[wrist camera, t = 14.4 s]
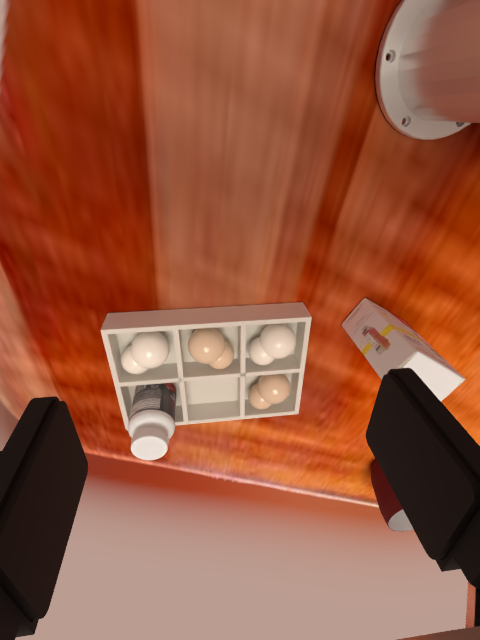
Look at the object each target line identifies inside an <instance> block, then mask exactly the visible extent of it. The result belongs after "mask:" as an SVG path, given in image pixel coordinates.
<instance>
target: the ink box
mask: <svg viewBox="0 0 480 640" xmlns="http://www.w3.org/2000/svg"><path fill="white" fill-rule="evenodd" d="M341 326H342V327H343V328H344V330H345V331H346V332H347V334H348V335H349V336H350V338H351V339H352V340H353V342H354V343H355V344H356V346H357V347H358V348H359V350H360V351H361V352H362V353H363V355H364V356H365V358H366V359H367V360H368V362H369V363H370V364H371V366H372V367H373V368H374V370H375V371H376V373H377V374H378V375H379V377H380V378H381V379H382V378H383V376H384V375H385V374H387V373H388V371H389V370H390V369H398V368H411V369H412V370H414V371H415V373H416V374H417V375H418V376H419V377H420V378H421V379H422V381H423V382H424V383H425V384H426V385H427V386H428V388H429V389H430V390H431V391H432V392H433V393H434V394H435V396H436V397H437V398H438V399H439V400H440V401H442V400H443V399H444V398H446V397H447V396H448V395H449V394H450V393H451V392H452V391H453V390H455V389H456V388H457V387H458V386H459V385H460V384H461V383H462V382H464V381H465V379H464V378H463V376H461V375H460V374H459V373H458V372H457V371H456V370H455V369H454V368H453V367H452V366H451V365H450V364H449V363H448V362H447V361H446V360H445V359H444V358H443V357H442V356H441V355H439V354H438V353H437V352H436V351H435V350H434V349H433V348H432V347H431V346H430V345H429V344H428V343H427V342H426V341H425V340H424V339H423V338H422V337H421V336H420V335H419V334H418V333H417V332H416V331H415V330H414V329H412V328H411V327H410V326H409V325H408V324H407V322H405V321H403V320H402V319H400V318H398V317H397V316H395V315H394V314H392V313H390V312H389V311H387V310H385V309H383V308H382V307H380V306H378V305H377V304H375V303H373V302H372V301H370V300H368V299H367V298H364V299H363V300H362V301H361V302H360V303H359V304H358V305H357V306H356V308H355V309H354V310H353V311H352V312H351V313H350V315H349V316H348V317H347V318H346V320H345V321H344V322H343V323H342V325H341Z"/></svg>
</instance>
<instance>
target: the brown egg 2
mask: <svg viewBox="0 0 480 640" xmlns="http://www.w3.org/2000/svg"><path fill="white" fill-rule="evenodd" d="M289 393H290V382H289V380H288V378H287V377H286V376H285V375H284V374H272V375H262V376H261V377H260V378H259V380H258V383H256V384H254V385H253V386H252V387H251V388H250V390H249V393H248V399H249V402H250V404H251V405H252V406H253V407H254V408H256V409H260V410H263V409H267V408H269V407H270V406H271V405H272V404H278V403H281V402H283V401H284V400H285V399H286V398H287V397H288V395H289Z"/></svg>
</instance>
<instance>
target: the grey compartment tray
mask: <svg viewBox="0 0 480 640" xmlns="http://www.w3.org/2000/svg"><path fill="white" fill-rule="evenodd" d="M311 318H312V317H311V315H310V313H309V312H308V310H307V308H306V307H305V305H304V303H303V302H296V303H279V304H261V305H243V306H226V307H208V308H191V309H173V310H155V311H138V312H120V313H107V316H106V318H105V321H104V323H103V325H102V328H101V334H102V338H103V342H104V346H105V350H106V353H107V357H108V361H109V365H110V369H111V373H112V377H113V381H114V385H115V389H116V393H117V397H118V401H119V405H120V409H121V412H122V416H123V420H124V424H125V428H126V430H128V422H129V417H130V413H131V408H132V403H133V398H134V393H135V389H136V385H147V384H160V383H172V382H174V383H175V385H176V389H177V395H176V413H175V414H176V415H175V425H185V424H196V423H207V422H217V421H228V420H239V419H249V418H260V417H270V416H281V415H292V414H298V413H299V406H300V398H301V391H302V384H303V376H304V369H305V362H306V354H307V347H308V340H309V333H310V325H311ZM279 323H284V324H286V325H288V326H289V327H290V328H291V329H292V330H293V331H294V333H295V336H296V345H295V348H294V350H293V351H292V353H291V354H290V355H288V356H287V357H285V358H281V359H275V360H274V361H273V362H272V363H270V364H268V365H258V364H256V363H254V362H253V361H252V360H251V358H250V356H249V352H248V349H249V345H250V343H251V342H252V341H253V340H254V339H255V338H257V337H260V335H261V332H262V331H263V329H264V328H265V327H266V326H268V325H269V324H279ZM200 328H215V329H216V330H218V331H219V332H220V333H221V334H222V336H223V338H224V341H226V342H228V343H229V344H230V345H231V346H232V348H233V350H234V359H233V361H232V363H231V364H230V365H229V366H228V367H227V368H224V369H215V368H213V367H211V366H210V365H209V364H203V363H199V362H197V361H196V360H194V359H193V358H192V357H191V355H190V353H189V351H188V340H189V338H190V336H191V334H192V333H193V332H194V331H195V330H197V329H200ZM152 331H156V332H158V333H160V334H162V335H163V336H164V337H165V338H166V339H167V341H168V343H169V348H170V351H169V356H168V358H167V360H166V361H165V362H164V363H163V364H162V365H161V366H159V367H156V368H153V369H148V370H147V371H145V372H144V373H141V374H131V373H128V372H127V371H126V370H125V369H124V368H123V367H122V364H121V355H122V353H123V351H124V350H125V349H126V348H127V347H128V346H130V345H131V344H132V342H133V340H134V339H135V337H136V336H138V335H139V334H140V333H142V332H152ZM272 374H284V375H285V376H286V377H287V378H288V380H289V382H290V393H289V395H288V397H287V398H286V399H285V400H284V401H283V402H281V403H278V404H272V405H271V406H270V407H269V408H267V409H263V410H260V409H256V408H254V407H253V406H252V405H251V404H250V402H249V399H248V393H249V390H250V388H251V387H252V386H253V385H254V384H256V383H258V380H259V378H260V377H261V376H262V375H272Z"/></svg>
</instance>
